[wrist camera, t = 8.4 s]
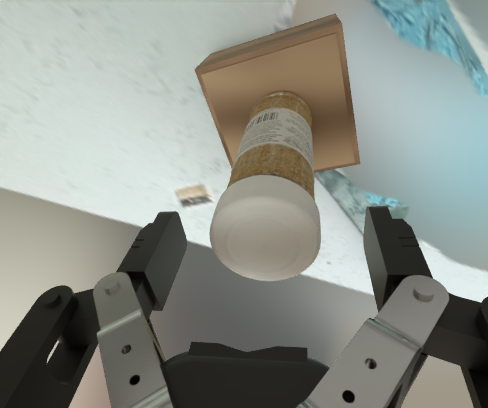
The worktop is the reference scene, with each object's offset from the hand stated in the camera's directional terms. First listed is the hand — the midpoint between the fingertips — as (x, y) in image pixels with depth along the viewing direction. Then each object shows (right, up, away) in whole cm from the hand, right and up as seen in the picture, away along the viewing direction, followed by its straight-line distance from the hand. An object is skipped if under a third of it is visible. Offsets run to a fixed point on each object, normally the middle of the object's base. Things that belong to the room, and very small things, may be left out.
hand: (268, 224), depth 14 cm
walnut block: (+2, +10, +14) cm, 17 cm away
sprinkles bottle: (+2, +7, +10) cm, 12 cm away
